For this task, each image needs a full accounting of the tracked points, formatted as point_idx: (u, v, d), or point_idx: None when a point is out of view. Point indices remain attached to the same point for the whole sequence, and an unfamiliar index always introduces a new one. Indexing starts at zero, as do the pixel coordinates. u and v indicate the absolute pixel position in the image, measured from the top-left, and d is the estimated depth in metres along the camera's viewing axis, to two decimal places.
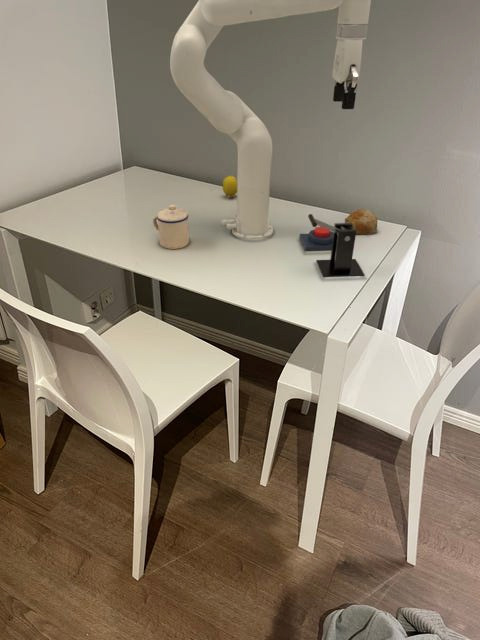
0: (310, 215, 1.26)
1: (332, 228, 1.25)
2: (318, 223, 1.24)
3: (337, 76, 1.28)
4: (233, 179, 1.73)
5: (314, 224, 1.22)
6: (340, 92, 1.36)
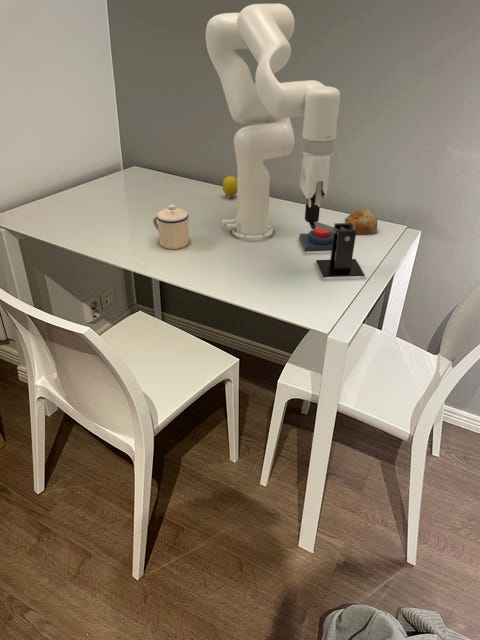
0: None
1: (331, 229, 1.26)
2: (317, 225, 1.25)
3: (304, 189, 1.18)
4: (233, 179, 1.73)
5: (313, 226, 1.22)
6: None
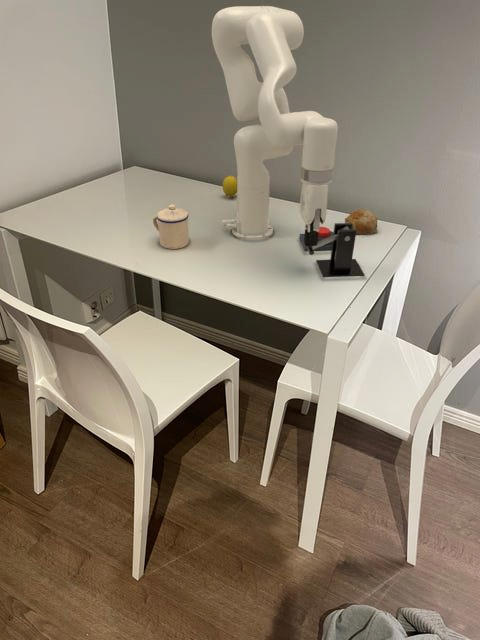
0: None
1: (330, 239, 1.27)
2: (316, 246, 1.28)
3: (303, 215, 1.22)
4: (233, 179, 1.73)
5: (311, 252, 1.26)
6: None
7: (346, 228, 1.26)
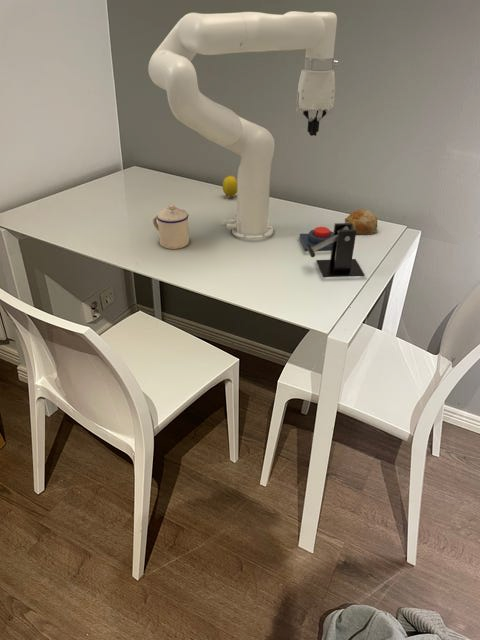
0: (307, 246, 1.31)
1: (330, 240, 1.27)
2: (316, 248, 1.28)
3: None
4: (233, 179, 1.73)
5: (312, 255, 1.27)
6: None
7: (346, 228, 1.26)
